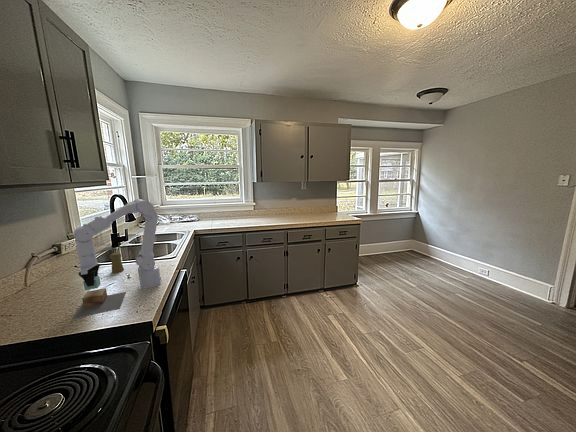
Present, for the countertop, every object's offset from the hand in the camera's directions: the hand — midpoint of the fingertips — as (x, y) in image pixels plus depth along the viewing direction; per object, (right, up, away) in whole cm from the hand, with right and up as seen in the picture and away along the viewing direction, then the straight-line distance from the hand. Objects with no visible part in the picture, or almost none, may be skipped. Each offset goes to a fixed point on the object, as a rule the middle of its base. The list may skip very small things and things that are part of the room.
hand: (92, 283), depth 107 cm
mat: (+5, -9, -1) cm, 10 cm away
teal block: (0, -2, 0) cm, 2 cm away
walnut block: (0, -9, +2) cm, 9 cm away
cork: (-13, -3, +35) cm, 37 cm away
